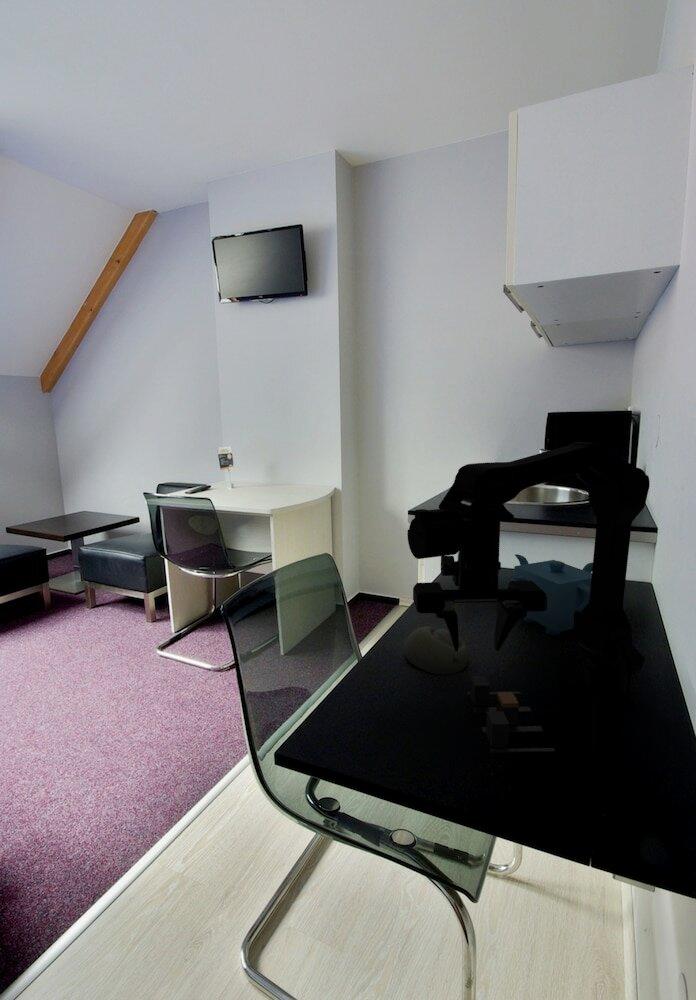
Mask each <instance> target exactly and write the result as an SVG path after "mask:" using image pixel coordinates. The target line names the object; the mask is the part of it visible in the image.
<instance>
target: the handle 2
mask: <svg viewBox="0 0 696 1000" xmlns="http://www.w3.org/2000/svg"><path fill="white" fill-rule="evenodd" d="M485 724H486V725H485V727H486V733H485V735H486V737H487V740H488V742H489V745H490V747H491V749H498V748H509V744H510V740H509V738H510V732H509V726H510V725H509V722H508V720H507V718H506V716H505V714H504V712H503V711H494V712H487V713H486V723H485Z"/></svg>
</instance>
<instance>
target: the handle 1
mask: <svg viewBox="0 0 696 1000" xmlns="http://www.w3.org/2000/svg"><path fill="white" fill-rule="evenodd" d="M469 680H470V682H469V683H470V684H469V685H470V686H469V690H470V691H469V692H470V695H469V697H470V699H471V702H472V704H473V708H475V707H490V696H491V695H490V692H491V690H490V689H491V686H490V683H489V681H488V678H487V677H486V675H470V679H469Z"/></svg>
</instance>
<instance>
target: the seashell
mask: <svg viewBox="0 0 696 1000" xmlns="http://www.w3.org/2000/svg"><path fill="white" fill-rule="evenodd" d="M403 648H404V654H405V657H406V659H407V660H408V661H409V662H410V663H411V664H412V665H413V666H415V667H416V668H418V669H420V670H423V671H424V672H427V673H431V674H433V675H434V674H435V675H452V674H453V675H454V674H456V673H457V674H458V673H459V672H461V671H463V670H465V669H466V667H467V665H468V663H469V659H470V651H469V648H468V646H467V643H465V641H464V640H463V638H462V637H460V636H459V647H458V651H455V649H454V646H453V643H452V640H451V637H450V634H449V630H448V629H443V628H440V629H437V628H434V627H433V626H421V627H419V628H416V629H414V630H413V631H412V632H411V633H410V634H409V635H408V637H407V639H406V640H405V643H404V647H403Z"/></svg>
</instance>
